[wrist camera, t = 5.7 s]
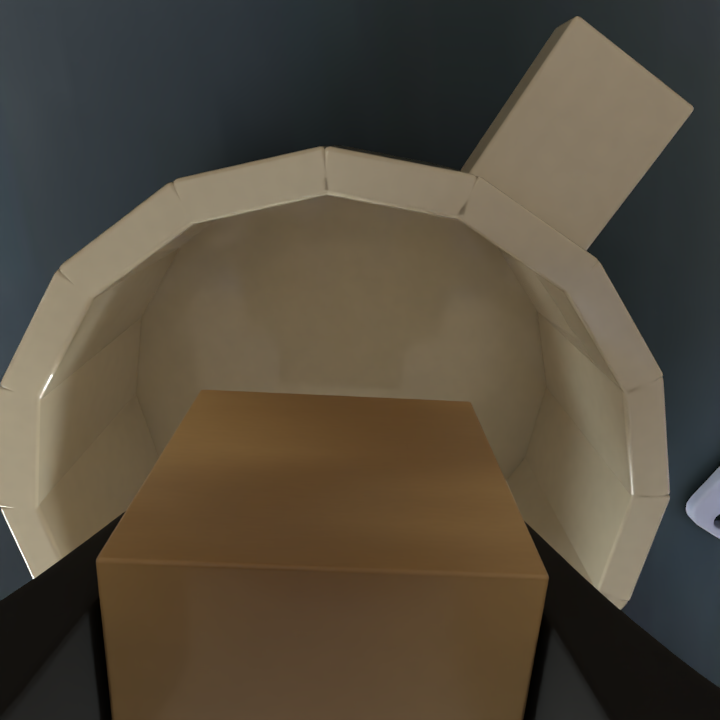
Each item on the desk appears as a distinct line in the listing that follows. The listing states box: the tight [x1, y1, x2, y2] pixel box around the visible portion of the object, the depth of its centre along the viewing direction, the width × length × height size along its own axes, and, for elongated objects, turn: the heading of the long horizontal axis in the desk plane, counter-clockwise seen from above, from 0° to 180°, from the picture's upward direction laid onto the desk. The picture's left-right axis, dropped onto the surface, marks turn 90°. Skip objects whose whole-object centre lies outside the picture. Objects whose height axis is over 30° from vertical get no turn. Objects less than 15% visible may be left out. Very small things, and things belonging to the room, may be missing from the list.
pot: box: [0, 16, 694, 610], centre depth 14 cm, size 12×17×6 cm
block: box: [96, 390, 549, 720], centre depth 9 cm, size 4×4×4 cm
